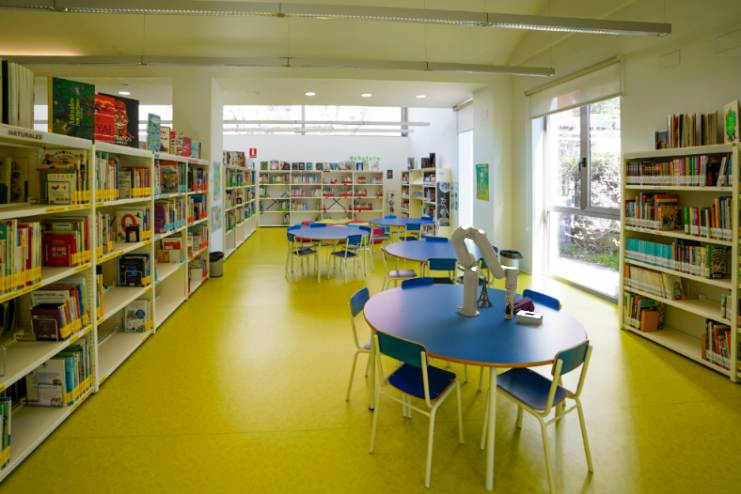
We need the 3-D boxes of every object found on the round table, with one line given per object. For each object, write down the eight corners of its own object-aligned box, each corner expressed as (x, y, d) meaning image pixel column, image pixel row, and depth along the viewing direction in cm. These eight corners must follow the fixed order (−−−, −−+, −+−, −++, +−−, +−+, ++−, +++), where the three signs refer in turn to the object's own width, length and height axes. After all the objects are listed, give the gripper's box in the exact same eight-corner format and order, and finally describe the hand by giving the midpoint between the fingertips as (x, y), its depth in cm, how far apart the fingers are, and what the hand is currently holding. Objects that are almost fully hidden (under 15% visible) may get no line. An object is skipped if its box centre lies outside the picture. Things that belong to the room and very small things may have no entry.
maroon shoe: (511, 321, 305) (536, 311, 304) (507, 311, 304) (531, 300, 303) (507, 317, 315) (531, 307, 313) (503, 307, 313) (526, 296, 312)
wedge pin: (504, 318, 293) (505, 303, 292) (506, 316, 297) (507, 302, 295) (510, 319, 291) (511, 304, 290) (512, 317, 295) (513, 303, 293)
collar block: (516, 321, 286) (516, 314, 286) (520, 317, 295) (520, 310, 294) (538, 325, 279) (539, 318, 278) (542, 321, 287) (543, 314, 286)
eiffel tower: (473, 304, 325) (474, 270, 321) (484, 302, 330) (486, 269, 326) (482, 308, 316) (484, 273, 312) (494, 306, 320) (496, 272, 316)
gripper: (512, 289, 282) (511, 317, 285) (520, 284, 295) (518, 311, 298) (501, 287, 286) (499, 315, 289) (508, 282, 300) (507, 309, 302)
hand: (509, 312), depth 293 cm, fingers closed on wedge pin, 4 cm apart
